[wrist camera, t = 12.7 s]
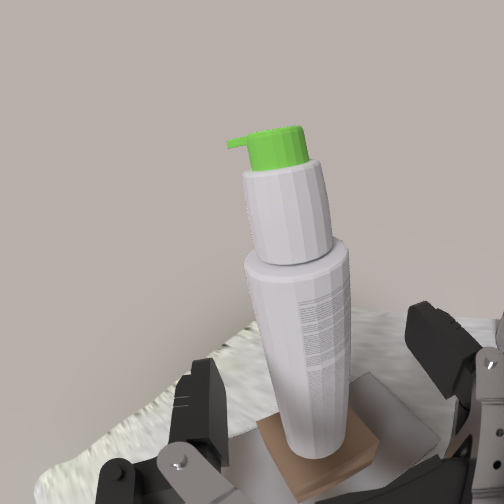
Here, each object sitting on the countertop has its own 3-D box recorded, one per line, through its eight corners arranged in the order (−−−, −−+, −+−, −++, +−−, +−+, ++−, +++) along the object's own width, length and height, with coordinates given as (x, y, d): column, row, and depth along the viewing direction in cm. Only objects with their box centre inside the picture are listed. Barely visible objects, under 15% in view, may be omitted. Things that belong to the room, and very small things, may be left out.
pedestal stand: (368, 380, 28) (372, 339, 25) (436, 445, 17) (458, 410, 15) (200, 455, 23) (176, 424, 20) (238, 552, 12) (213, 546, 10)
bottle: (312, 405, 20) (271, 130, 13) (356, 427, 17) (353, 119, 9) (275, 440, 18) (192, 147, 10) (320, 469, 14) (277, 127, 7)
